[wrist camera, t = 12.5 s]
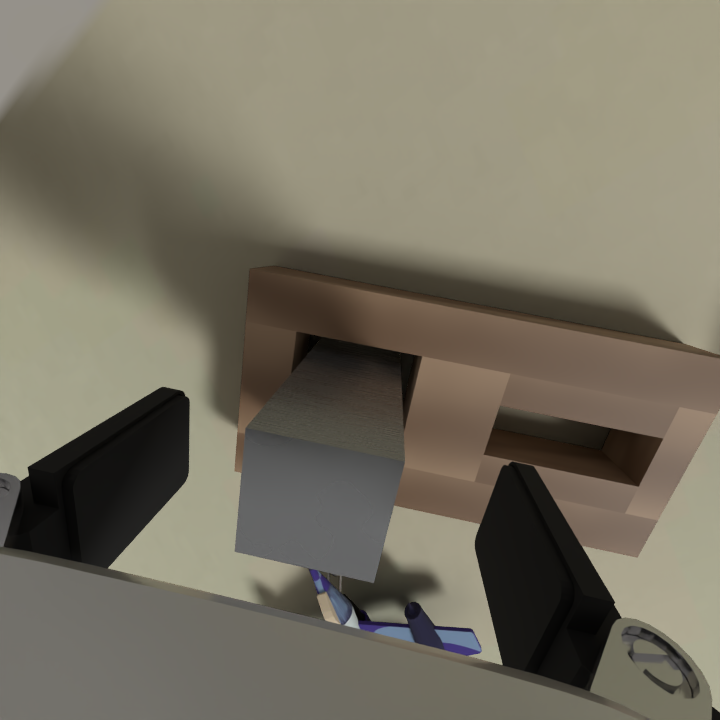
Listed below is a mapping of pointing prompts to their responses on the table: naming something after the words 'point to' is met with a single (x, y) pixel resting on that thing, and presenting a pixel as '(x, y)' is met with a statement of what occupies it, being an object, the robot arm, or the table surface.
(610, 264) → the table surface
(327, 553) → the square peg
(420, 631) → the toy airplane
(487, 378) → the socket block
